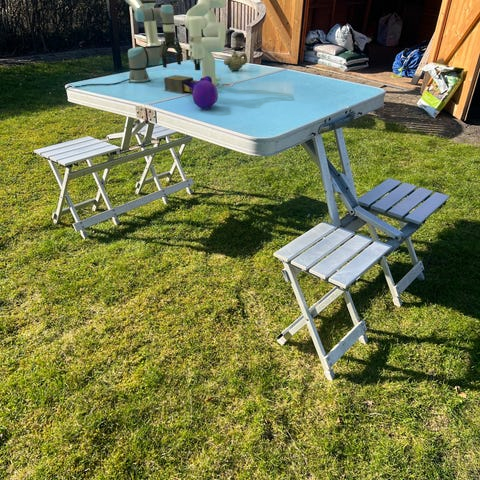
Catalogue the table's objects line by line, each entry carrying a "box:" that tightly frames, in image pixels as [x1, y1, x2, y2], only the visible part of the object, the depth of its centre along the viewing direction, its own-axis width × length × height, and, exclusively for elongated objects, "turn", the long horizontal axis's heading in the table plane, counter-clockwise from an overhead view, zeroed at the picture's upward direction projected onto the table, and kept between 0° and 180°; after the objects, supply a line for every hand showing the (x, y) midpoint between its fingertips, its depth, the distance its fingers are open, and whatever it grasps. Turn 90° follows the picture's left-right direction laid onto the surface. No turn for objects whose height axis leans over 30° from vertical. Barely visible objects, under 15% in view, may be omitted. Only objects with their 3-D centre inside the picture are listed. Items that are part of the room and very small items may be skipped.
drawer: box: [183, 79, 200, 94], centre depth 301 cm, size 21×10×6 cm, turn 53°
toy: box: [181, 76, 219, 110], centre depth 265 cm, size 16×18×27 cm
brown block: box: [163, 74, 194, 94], centre depth 307 cm, size 17×11×8 cm, turn 53°
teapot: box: [223, 50, 248, 72], centre depth 366 cm, size 21×12×15 cm, turn 120°
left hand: (172, 66), depth 304 cm, fingers open, 13 cm apart
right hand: (197, 70), depth 292 cm, fingers closed
